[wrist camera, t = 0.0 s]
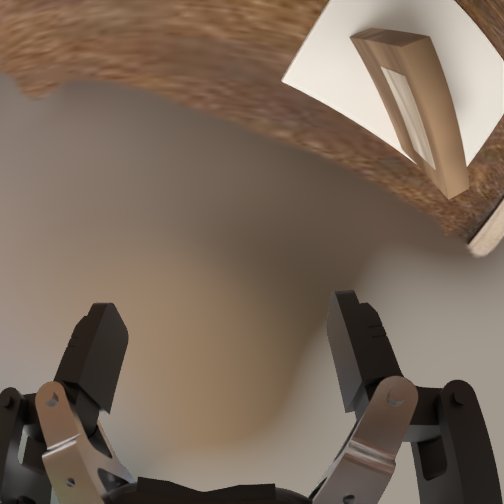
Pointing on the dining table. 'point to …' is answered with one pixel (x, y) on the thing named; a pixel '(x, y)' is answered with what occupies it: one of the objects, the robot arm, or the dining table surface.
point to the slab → (417, 103)
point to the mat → (362, 86)
